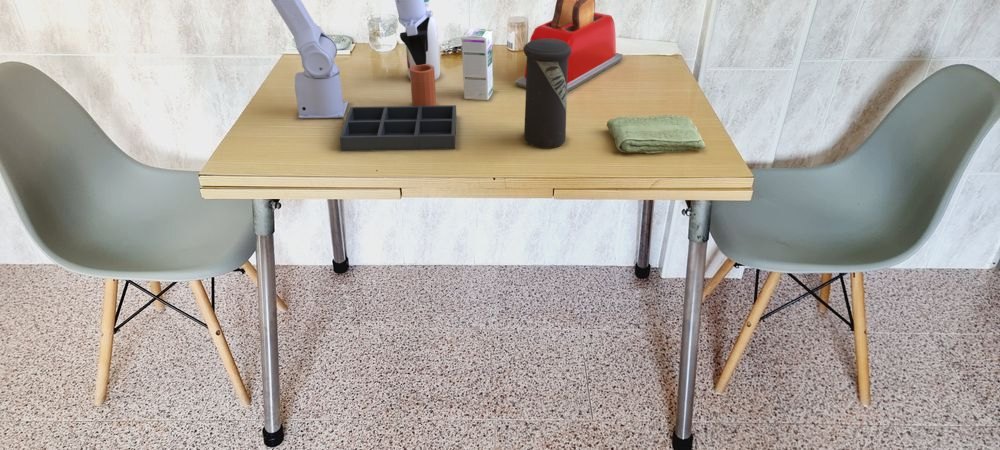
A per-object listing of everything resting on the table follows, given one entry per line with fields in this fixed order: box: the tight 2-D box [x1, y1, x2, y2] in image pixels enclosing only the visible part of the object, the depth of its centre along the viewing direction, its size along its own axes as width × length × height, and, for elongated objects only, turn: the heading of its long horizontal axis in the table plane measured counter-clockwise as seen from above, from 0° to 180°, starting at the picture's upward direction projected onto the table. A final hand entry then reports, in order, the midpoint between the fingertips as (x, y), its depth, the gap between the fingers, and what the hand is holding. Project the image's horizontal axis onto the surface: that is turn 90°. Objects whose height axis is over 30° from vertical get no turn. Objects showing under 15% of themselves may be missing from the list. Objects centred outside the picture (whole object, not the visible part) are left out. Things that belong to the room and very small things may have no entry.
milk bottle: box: [404, 0, 441, 81], centre depth 170 cm, size 8×8×20 cm
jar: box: [409, 64, 437, 106], centre depth 158 cm, size 5×5×9 cm
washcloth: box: [606, 114, 706, 155], centre depth 145 cm, size 13×18×3 cm
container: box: [522, 39, 572, 149], centre depth 141 cm, size 9×9×20 cm
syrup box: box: [461, 28, 494, 101], centre depth 162 cm, size 6×6×14 cm
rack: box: [338, 104, 457, 152], centre depth 148 cm, size 22×15×3 cm
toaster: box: [515, 0, 624, 93], centre depth 173 cm, size 32×13×19 cm, turn 144°
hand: (422, 57), depth 154 cm, fingers open, 7 cm apart
